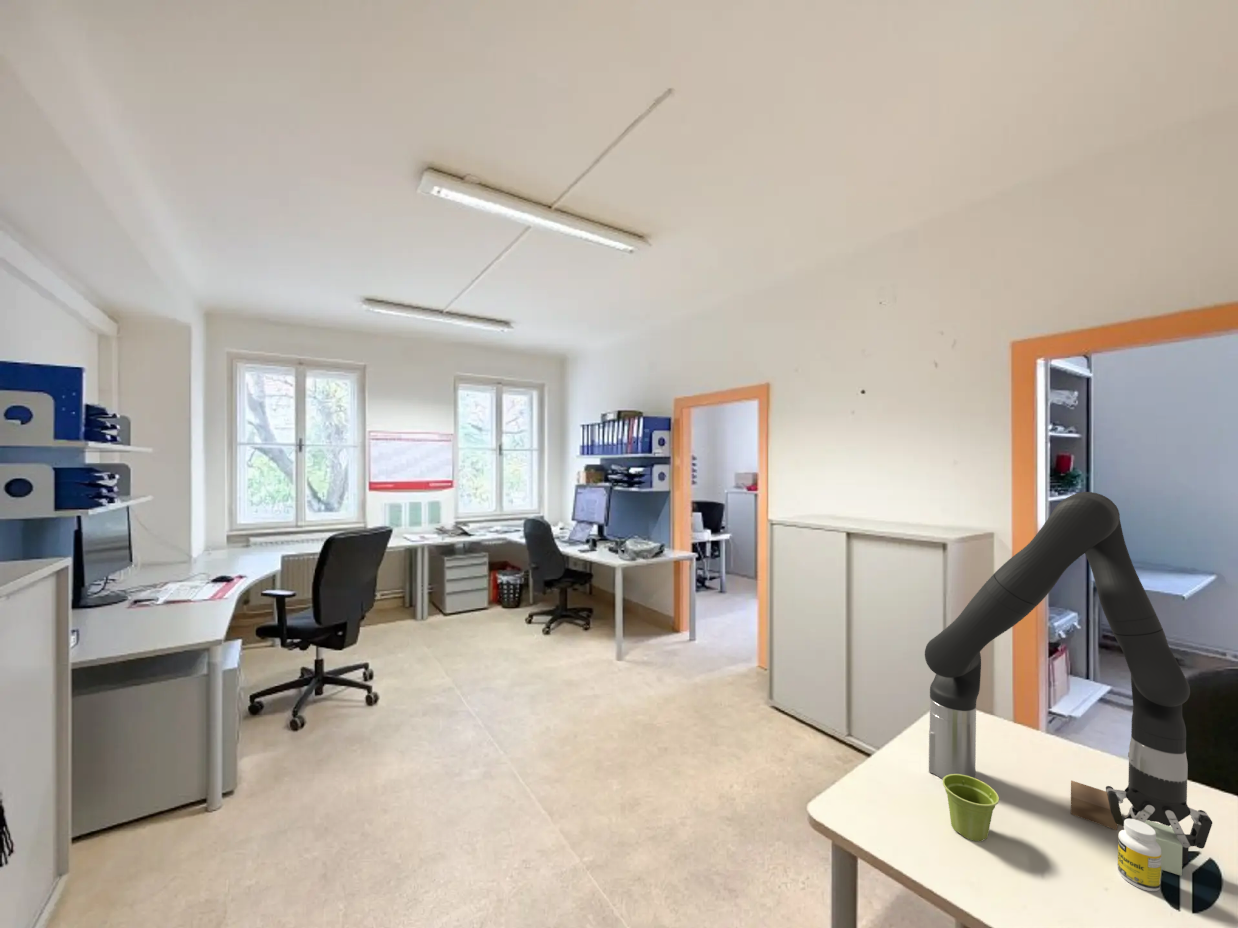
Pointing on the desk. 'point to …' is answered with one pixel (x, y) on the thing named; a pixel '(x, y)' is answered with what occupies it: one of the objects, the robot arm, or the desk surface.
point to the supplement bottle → (1139, 855)
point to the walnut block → (1091, 804)
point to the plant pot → (970, 805)
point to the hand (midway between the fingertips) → (1155, 854)
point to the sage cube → (1168, 848)
